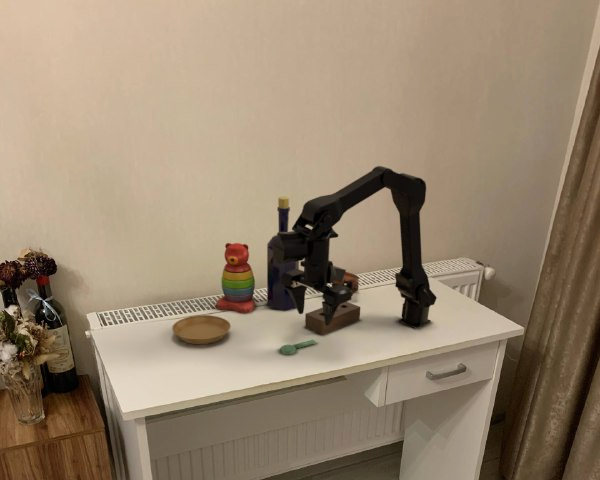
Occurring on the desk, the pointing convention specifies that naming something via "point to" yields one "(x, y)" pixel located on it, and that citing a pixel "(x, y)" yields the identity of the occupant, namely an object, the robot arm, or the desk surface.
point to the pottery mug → (349, 282)
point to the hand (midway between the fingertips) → (314, 319)
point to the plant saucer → (201, 329)
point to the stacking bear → (237, 280)
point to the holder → (341, 318)
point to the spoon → (291, 348)
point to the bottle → (279, 265)
